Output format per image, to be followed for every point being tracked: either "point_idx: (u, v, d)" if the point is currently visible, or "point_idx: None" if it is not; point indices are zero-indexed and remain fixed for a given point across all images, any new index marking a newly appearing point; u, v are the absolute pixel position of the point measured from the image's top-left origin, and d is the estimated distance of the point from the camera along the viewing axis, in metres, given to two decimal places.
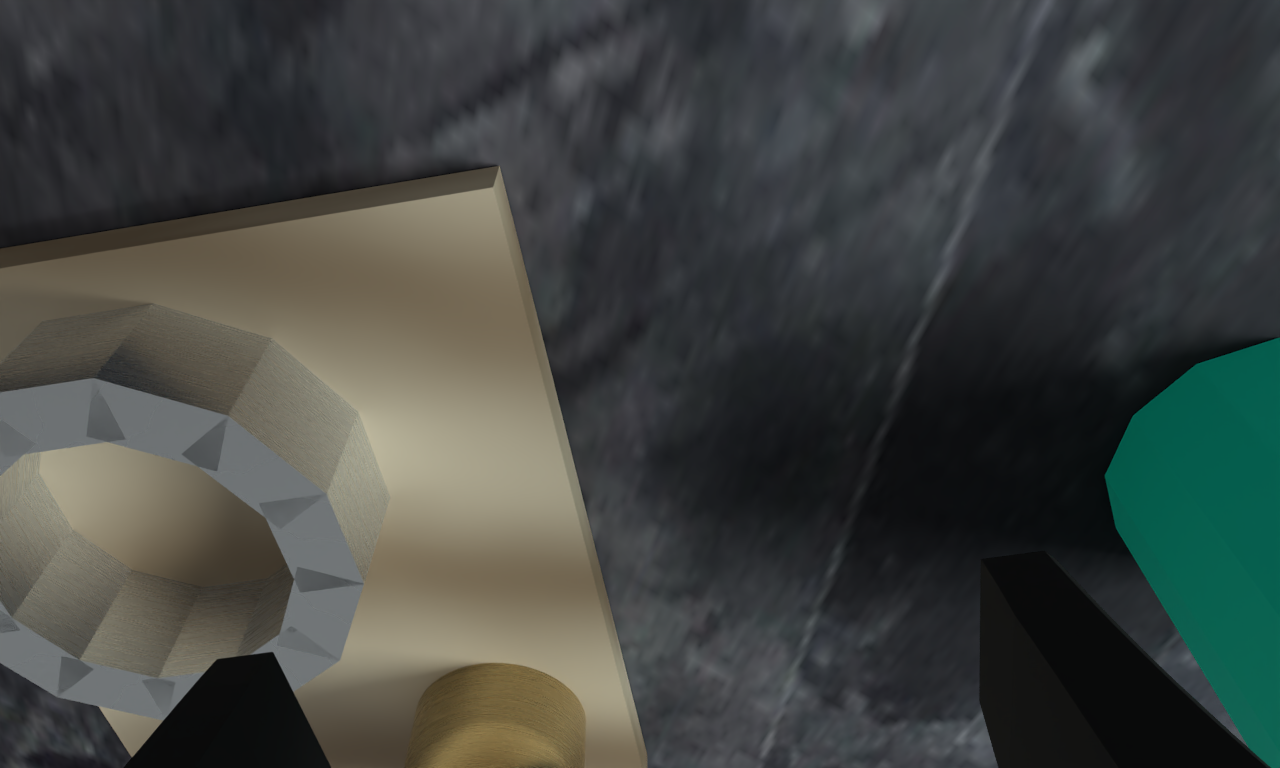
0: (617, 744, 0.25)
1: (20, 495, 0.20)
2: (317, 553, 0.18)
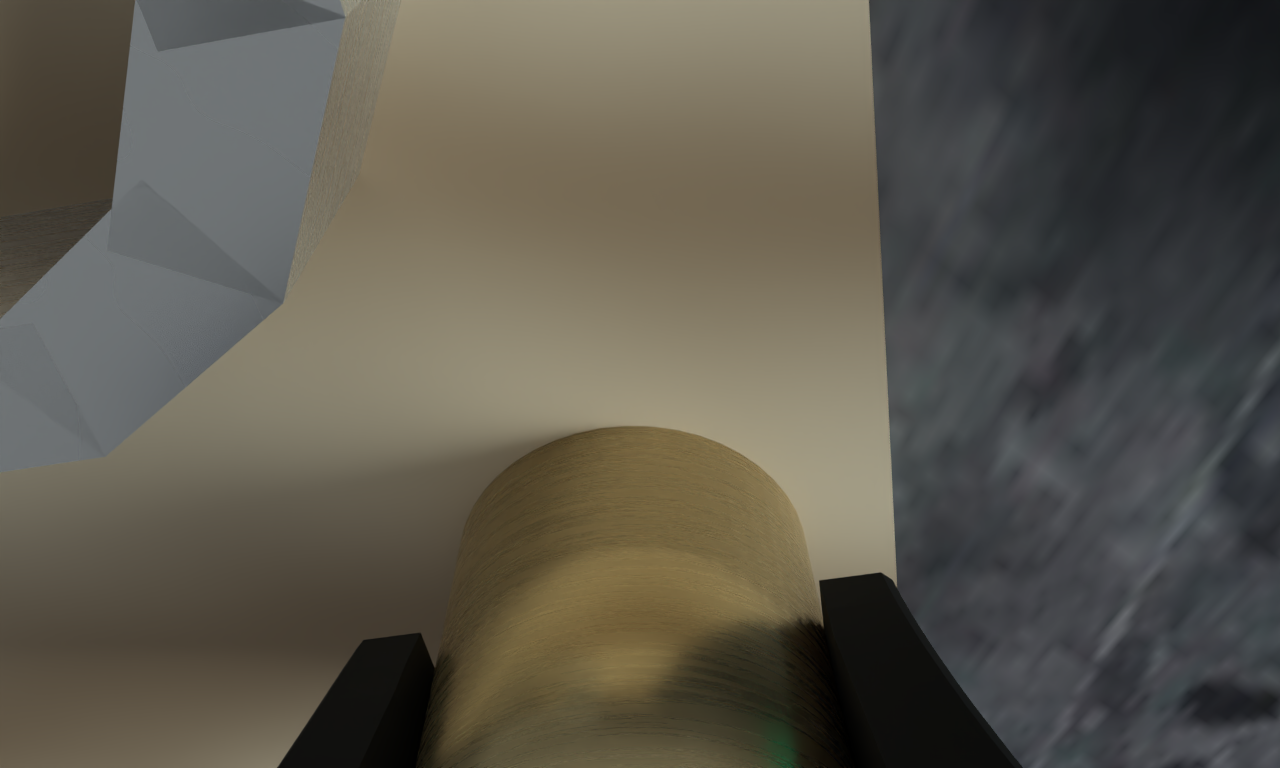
0: None
1: None
2: None
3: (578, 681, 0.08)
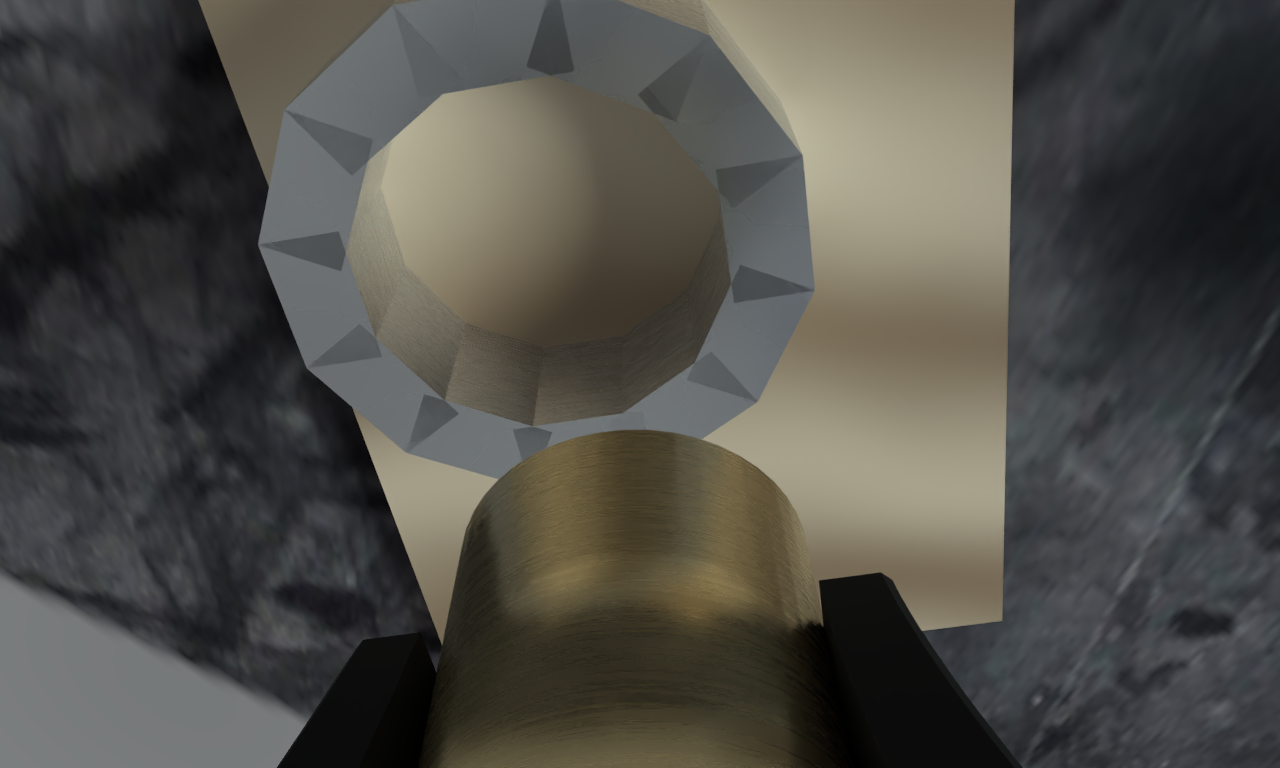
0: (981, 563, 0.22)
1: (373, 201, 0.16)
2: (769, 245, 0.15)
3: (577, 687, 0.08)
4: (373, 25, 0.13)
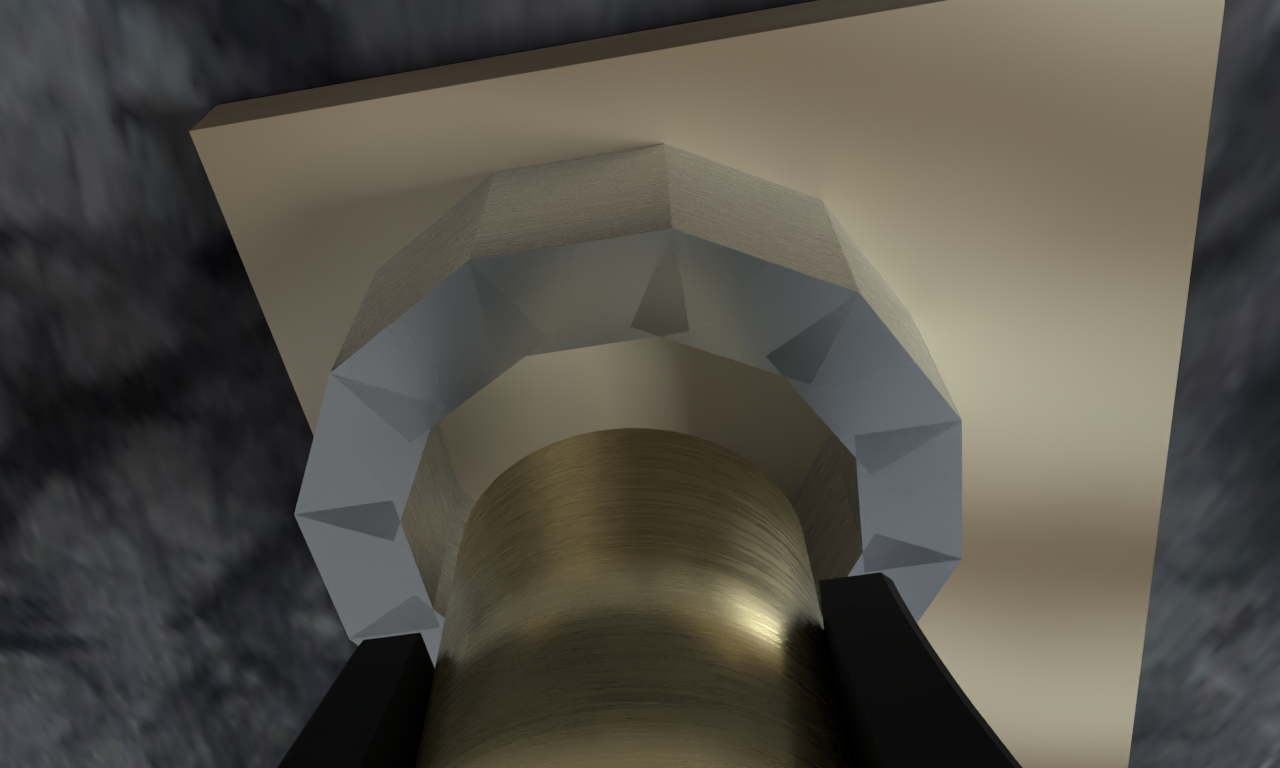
0: None
1: None
2: (912, 513, 0.12)
3: (574, 686, 0.08)
4: (443, 281, 0.11)
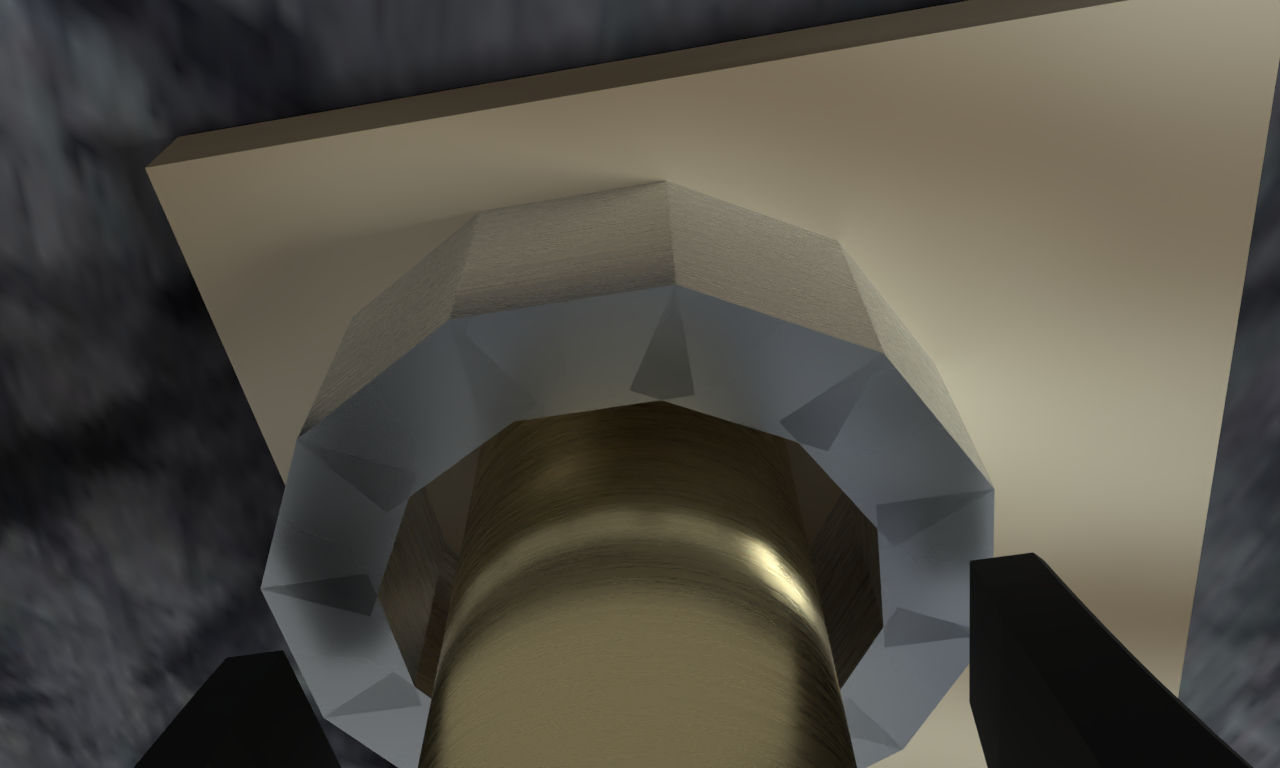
0: None
1: None
2: (938, 586, 0.11)
3: (584, 531, 0.10)
4: (420, 342, 0.10)
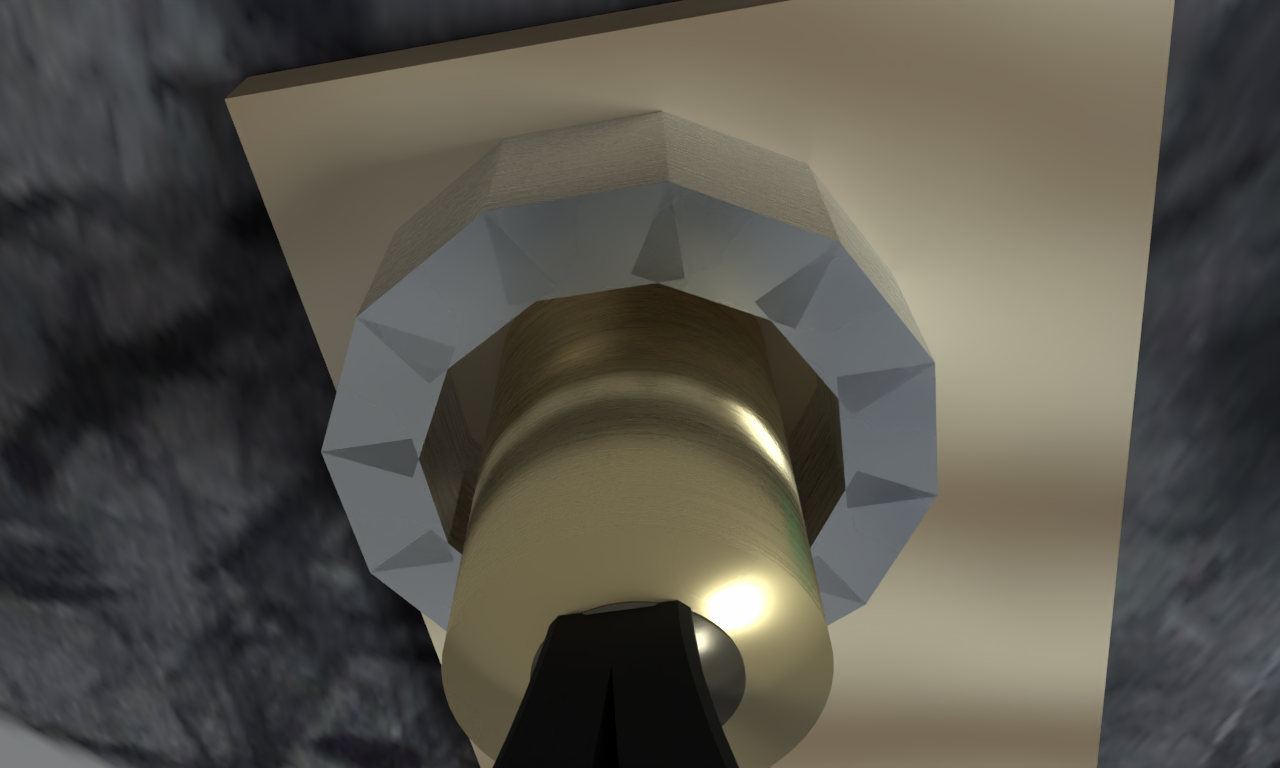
0: (1077, 724, 0.20)
1: None
2: (890, 451, 0.14)
3: (594, 385, 0.12)
4: (460, 231, 0.12)
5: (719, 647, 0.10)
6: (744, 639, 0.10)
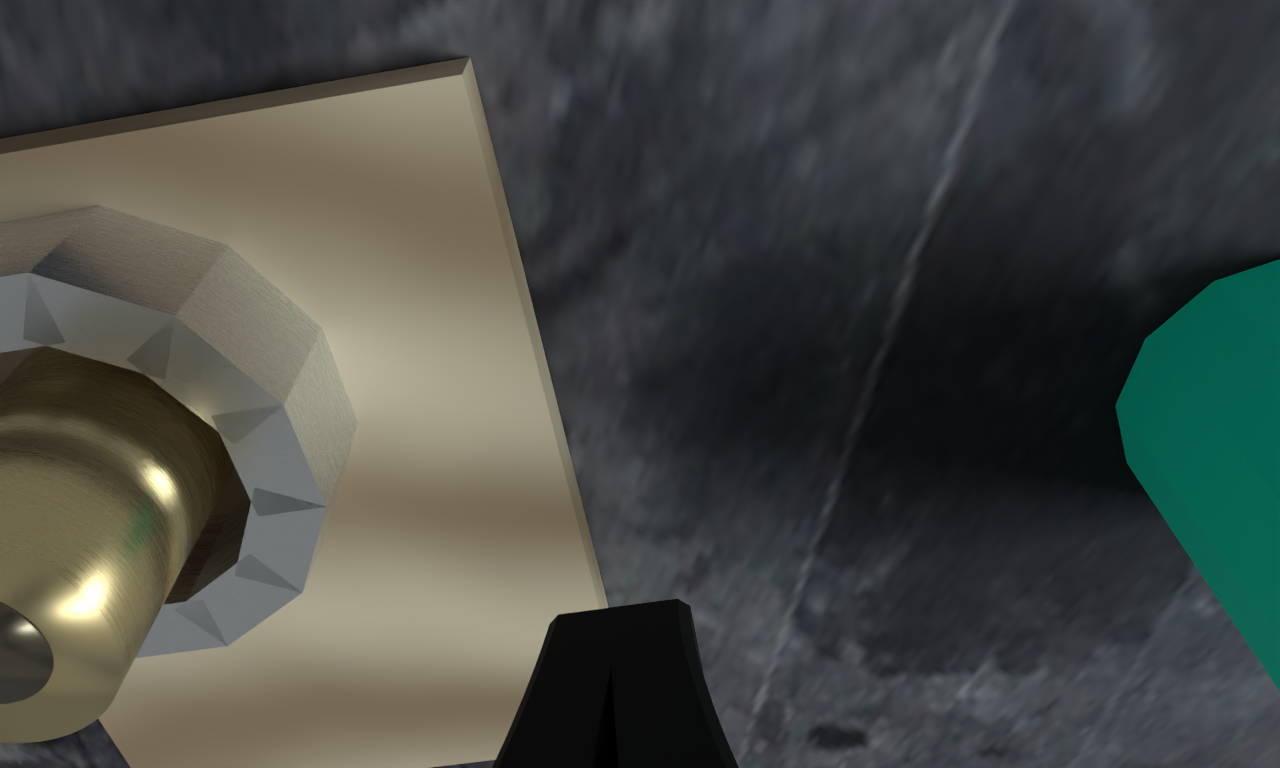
0: None
1: None
2: (275, 472, 0.17)
3: None
4: None
5: (18, 622, 0.14)
6: (35, 616, 0.14)
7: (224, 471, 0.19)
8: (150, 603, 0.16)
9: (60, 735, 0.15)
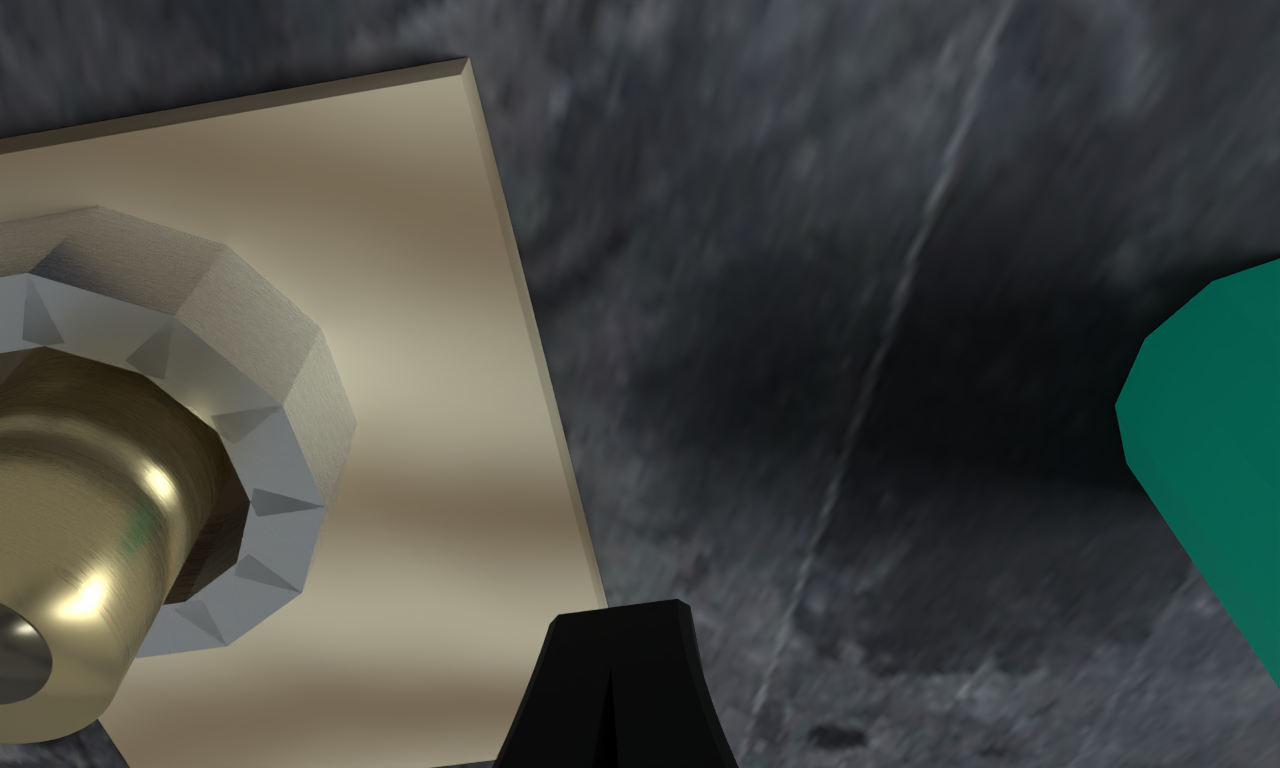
0: None
1: None
2: (274, 472, 0.17)
3: None
4: None
5: (16, 623, 0.14)
6: (33, 617, 0.14)
7: (223, 471, 0.19)
8: (149, 604, 0.16)
9: (59, 735, 0.15)
